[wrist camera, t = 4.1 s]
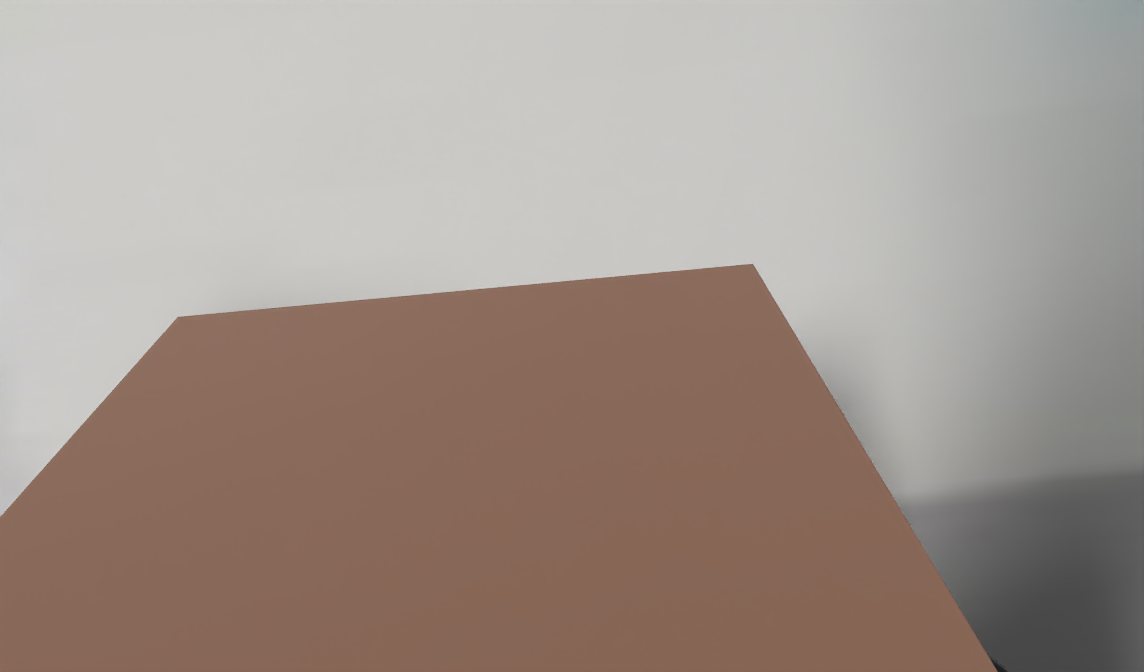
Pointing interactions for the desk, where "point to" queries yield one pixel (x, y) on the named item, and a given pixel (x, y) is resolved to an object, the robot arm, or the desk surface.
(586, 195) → the desk surface
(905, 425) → the desk surface
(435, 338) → the terracotta block
